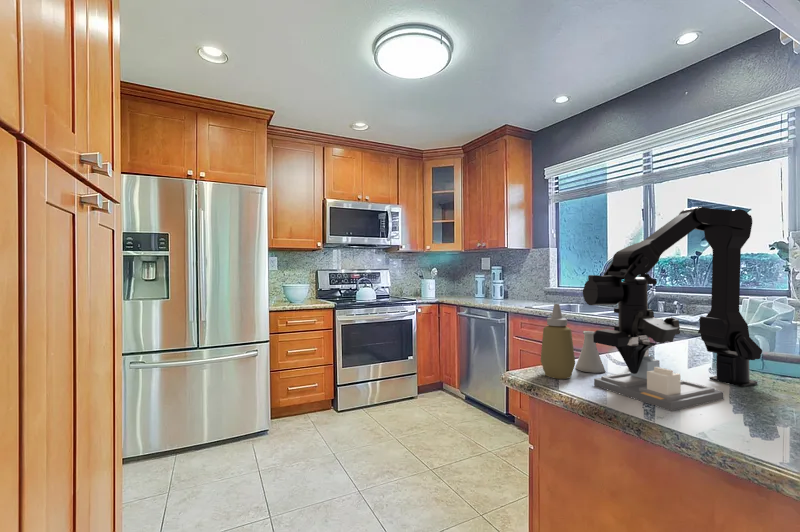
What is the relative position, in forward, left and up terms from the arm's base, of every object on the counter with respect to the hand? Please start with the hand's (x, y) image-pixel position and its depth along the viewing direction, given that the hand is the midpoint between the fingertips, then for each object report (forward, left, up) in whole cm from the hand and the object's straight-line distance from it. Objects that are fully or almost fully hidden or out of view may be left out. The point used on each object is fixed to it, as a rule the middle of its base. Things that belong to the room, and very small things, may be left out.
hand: (633, 373), depth 86 cm
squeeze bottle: (+10, -13, -3) cm, 17 cm away
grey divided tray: (0, +4, -3) cm, 5 cm away
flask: (-2, -14, -3) cm, 15 cm away
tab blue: (-4, 0, -1) cm, 4 cm away
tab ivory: (+4, +9, -1) cm, 10 cm away
